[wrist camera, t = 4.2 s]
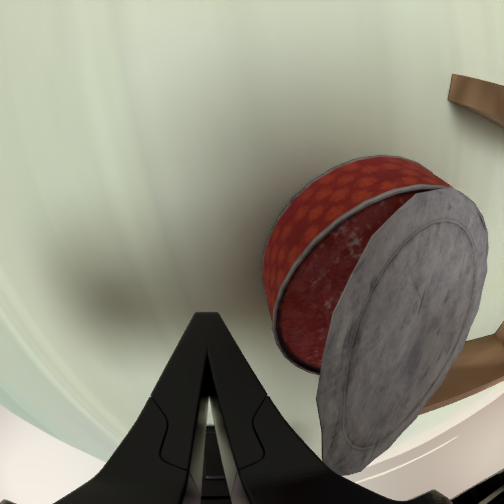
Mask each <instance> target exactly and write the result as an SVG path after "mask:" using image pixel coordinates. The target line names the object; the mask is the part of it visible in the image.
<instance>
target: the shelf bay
mask: <svg viewBox="0 0 504 504" xmlns="http://www.w3.org/2000/svg"><path fill="white" fill-rule="evenodd" d="M448 100H450V101H452V102H455V103H457V104H459V105H461V106H463V107H465V108H467V109H469V110H471V111H473V112H475V113H477V114H479V115H481V116H483V117H485V118H487V119H489V120H490V121H492V122H494V123H496V124H498V125H499V126H501V127H503V128H504V86H502V85H498V84H495V83H491V82H487V81H483V80H479V79H475V78H471V77H466V76H462V75H457V74H453V75H452V81H451V87H450V92H449V97H448ZM502 381H504V322H503V323H502V325H501V326H500V328H499V329H498V330H497V332H496V333H495V334H493V335H489V336H486V337H482V338H478V339H475V340H471V341H467V342H465V344H464V346H463V348H462V350H461V352H460V353H459V355H458V356H457V358H456V359H455V361H454V363H453V364H452V366H451V368H450V370H449V371H448V373H447V375H446V377H445V379H444V381H443V382H442V384H441V386H440V387H439V388H438V389H437V391H436V392H435V393H434V394H433V395H432V397H431V398H430V399H429V400H428V402H427V403H426V405H425V406H424V408H423V409H422V411H421V412H420V414H423V413H426V412H429V411H432V410H435V409H438V408H441V407H444V406H446V405H449V404H452V403H454V402H457V401H459V400H462V399H464V398H467V397H469V396H471V395H474V394H476V393H478V392H480V391H483V390H485V389H487V388H489V387H491V386H493V385H496V384H498V383H500V382H502ZM420 414H419V415H420Z"/></svg>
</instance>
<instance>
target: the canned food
mask: <svg viewBox="0 0 504 504" xmlns="http://www.w3.org/2000/svg"><path fill="white" fill-rule="evenodd" d="M487 255H488V232H487V228H486V225H485V222H484V218H483V216H482V214H481V213H480V211H479V209H478V208H477V206H476V204H475V203H474V202H473V201H472V200H470V199H469V198H468V197H467V196H465V195H464V194H463V193H461V192H460V191H457V190H456V189H454V188H453V187H451V186H450V185H449V184H447V183H446V182H444V181H443V180H441V179H440V178H439V177H437V176H436V175H434V174H433V173H432V172H431V171H429V170H428V169H426V168H425V167H423V166H422V165H420V164H419V163H417V162H414V161H411V160H409V159H406V158H403V157H398V156H385V155H377V156H370V157H364V158H358V159H355V160H352V161H349V162H347V163H344V164H342V165H339V166H336V167H334V168H332V169H330V170H329V171H327V172H326V173H324V174H322V175H321V176H319V177H318V178H316V179H314V180H313V181H311V182H310V183H309V184H308V185H307V186H306V187H305V188H304V189H303V190H301V191H300V192H299V193H298V194H297V195H296V196H295V197H294V198H293V199H292V200H291V201H290V203H289V204H288V205H287V207H286V208H285V209H284V211H283V212H282V213H281V215H280V216H279V217H278V219H277V221H276V223H275V225H274V227H273V229H272V231H271V233H270V235H269V237H268V239H267V242H266V246H265V250H264V254H263V258H262V281H263V285H264V289H265V293H266V296H267V301H268V305H269V310H270V315H271V320H272V329H273V333H274V337H275V341H276V344H277V346H278V347H279V349H280V351H281V352H282V354H283V355H284V357H285V358H287V359H288V360H289V361H290V362H291V363H293V364H294V365H295V366H296V367H298V368H300V369H302V370H304V371H307V372H309V373H312V374H317V375H320V377H319V384H318V390H317V396H316V402H317V408H318V414H319V419H320V425H321V432H322V461H323V462H324V463H325V464H326V465H327V466H328V467H329V468H330V469H331V470H333V471H334V472H335V473H337V474H339V475H340V476H344V475H350V474H354V473H357V472H361V471H362V470H363V469H364V468H365V467H366V466H367V465H369V464H370V463H371V462H372V461H373V460H374V459H375V458H377V457H378V456H379V455H381V454H382V453H383V452H385V451H386V450H387V449H388V448H389V447H390V446H391V445H392V444H393V443H394V442H395V441H396V439H397V438H398V437H399V436H400V435H401V433H402V432H403V431H404V430H405V429H406V428H407V427H408V426H409V425H410V424H411V423H412V422H413V421H414V420H415V419H416V418H417V417H418V415H419V414H420V412H421V411H422V409H423V408H424V406H425V405H426V403H427V402H428V400H429V399H430V398H431V397H432V395H433V394H434V393H435V392H436V391H437V389H438V388H439V387H440V386H441V384H442V382H443V381H444V379H445V377H446V375H447V373H448V371H449V370H450V368H451V366H452V364H453V363H454V361H455V359H456V358H457V356H458V355H459V353H460V352H461V350H462V348H463V346H464V344H465V341H466V338H467V336H468V333H469V330H470V327H471V325H472V323H473V321H474V319H475V316H476V314H477V312H478V309H479V305H480V300H481V294H482V289H483V285H484V281H485V277H486V273H487Z"/></svg>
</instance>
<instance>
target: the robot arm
mask: <svg viewBox="0 0 504 504" xmlns="http://www.w3.org/2000/svg"><path fill="white" fill-rule="evenodd" d="M267 395H268V394H267V393H266V391H265V389H264V388H263V386H262V385H261V383H260V381H259V380H258V378H257V377H256V375H255V373H254V372H253V370H252V368H251V367H250V365H249V364H248V362H247V360H246V359H245V357H244V355H243V354H242V352H241V350H240V349H239V347H238V345H237V344H236V342H235V340H234V339H233V337H232V335H231V333H230V332H229V330H228V328H227V327H226V325H225V323H224V321H223V320H222V318H221V316H220V315H219V313H218V312H196V313H195V314H194V315H193V317H192V319H191V321H190V323H189V325H188V326H187V328H186V330H185V332H184V334H183V336H182V337H181V339H180V341H179V343H178V345H177V347H176V348H175V350H174V352H173V354H172V356H171V358H170V360H169V361H168V363H167V365H166V367H165V369H164V371H163V373H162V374H161V376H160V378H159V380H158V382H157V384H156V386H155V388H154V389H153V391H152V393H151V397H149V399H148V401H147V402H146V404H145V406H144V408H143V410H142V412H141V413H140V415H139V417H138V419H137V420H136V422H135V423H134V425H133V426H132V428H131V429H130V431H129V432H128V434H127V435H126V437H125V438H124V439H123V441H122V442H121V444H120V445H119V446H118V448H117V449H116V450H115V452H114V453H113V455H112V456H111V457H110V459H109V460H108V461H107V463H106V464H105V465H104V467H103V468H102V469H101V470H100V472H99V473H98V474H97V475H96V476H95V477H93V478H92V479H91V480H89V481H88V482H86V483H85V484H83V485H82V486H80V487H79V488H77V489H76V490H74V491H73V492H71V493H70V494H68V495H66V496H65V497H63V498H62V499H60V500H58V501H57V502H55V503H53V504H504V469H502V470H501V471H499V472H497V473H495V474H494V475H492V476H490V477H488V478H486V479H485V480H483V481H481V482H479V483H477V484H476V485H474V486H472V487H471V488H469V489H467V490H465V491H463V492H462V493H460V494H459V495H457V496H455V497H453V498H452V499H450V500H449V499H448V498H447V497H446V496H444V495H443V494H441V493H439V492H438V491H436V490H431V491H428V492H426V493H424V494H421V495H419V496H417V497H414V498H412V499H410V500H407V501H395V500H392V499H389V498H386V497H384V496H381V495H379V494H377V493H375V492H373V491H370V490H368V489H366V488H364V487H362V486H360V485H358V484H356V483H354V482H352V481H350V480H348V479H346V478H344V477H342V476H340V475H339V474H337V473H335V472H334V471H333V470H331V469H330V468H329V467H328V466H327V465H326V464H325V463H324V462H322V461H321V460H320V458H319V457H318V456H317V455H316V454H315V453H314V452H313V451H312V450H311V449H310V448H309V447H308V446H307V445H306V443H305V442H304V441H303V440H302V439H301V438H300V437H299V436H298V435H297V433H296V432H295V431H294V430H293V429H292V428H291V426H290V425H289V424H288V423H287V422H286V420H285V419H284V418H283V416H282V415H281V413H280V412H279V411H278V409H277V408H276V406H275V405H274V403H273V402H272V400H271V399H270V397H269V396H267ZM209 399H210V404H211V410H212V415H213V420H214V425H215V428H206V423H207V412H208V401H209ZM0 504H16V503H13V502H11V501H8V500H3V501H1V502H0Z"/></svg>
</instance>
